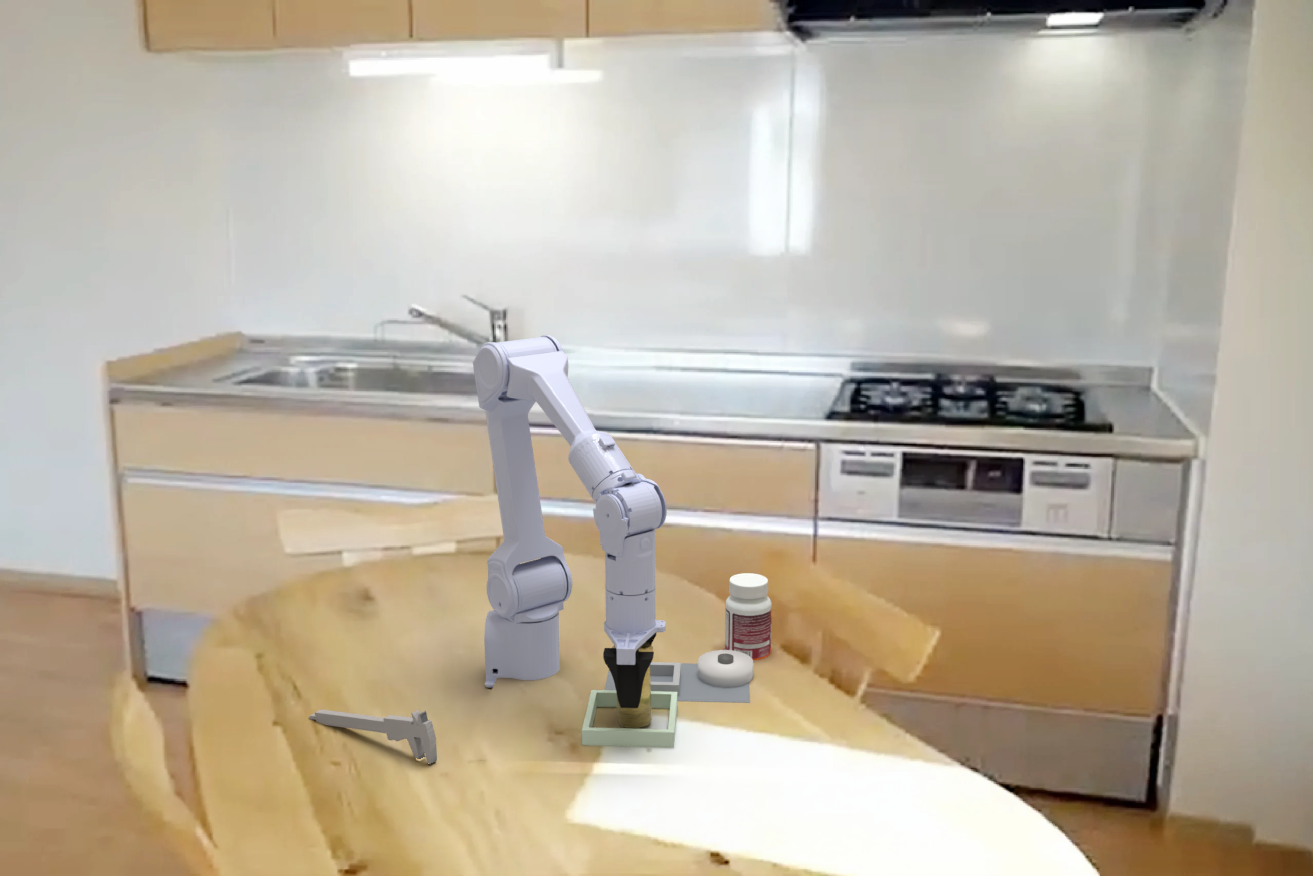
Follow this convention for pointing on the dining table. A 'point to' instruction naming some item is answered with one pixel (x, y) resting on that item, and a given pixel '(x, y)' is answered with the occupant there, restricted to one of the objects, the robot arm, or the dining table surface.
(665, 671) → the board
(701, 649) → the dining table surface
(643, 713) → the lock pin
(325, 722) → the caliper
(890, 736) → the dining table surface
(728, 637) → the pill bottle
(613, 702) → the tray
